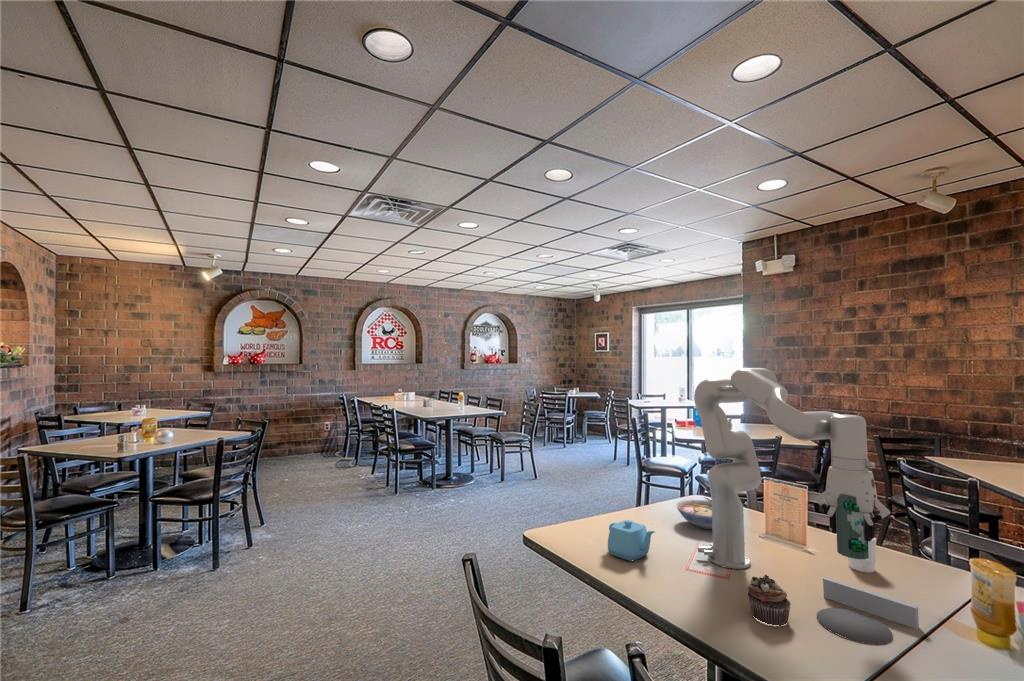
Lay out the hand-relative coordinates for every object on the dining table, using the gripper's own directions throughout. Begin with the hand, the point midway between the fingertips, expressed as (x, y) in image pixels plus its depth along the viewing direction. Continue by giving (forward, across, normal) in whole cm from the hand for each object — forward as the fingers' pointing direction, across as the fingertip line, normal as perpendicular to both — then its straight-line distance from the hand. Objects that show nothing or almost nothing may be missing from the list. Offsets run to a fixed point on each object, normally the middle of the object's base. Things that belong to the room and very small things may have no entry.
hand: (851, 535), depth 117 cm
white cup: (+22, +9, -39) cm, 46 cm away
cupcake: (+22, +14, +14) cm, 30 cm away
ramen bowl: (+22, +60, -38) cm, 74 cm away
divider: (+22, 0, -10) cm, 24 cm away
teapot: (+22, +60, +10) cm, 65 cm away
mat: (+22, 0, +2) cm, 22 cm away
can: (+5, 0, 0) cm, 5 cm away
